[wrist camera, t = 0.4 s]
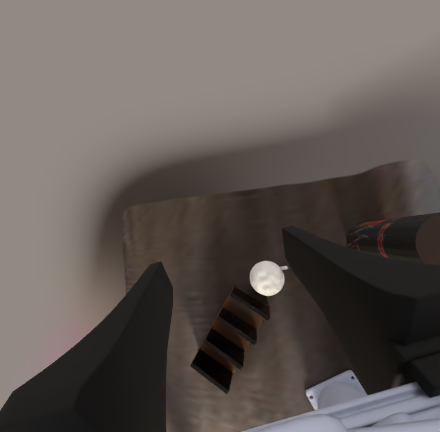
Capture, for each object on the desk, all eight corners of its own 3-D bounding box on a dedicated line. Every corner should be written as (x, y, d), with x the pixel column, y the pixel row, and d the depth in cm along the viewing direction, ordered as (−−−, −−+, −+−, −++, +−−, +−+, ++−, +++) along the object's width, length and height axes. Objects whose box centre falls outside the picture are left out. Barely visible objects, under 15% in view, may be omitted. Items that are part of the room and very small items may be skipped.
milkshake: (288, 269, 35) (299, 283, 25) (262, 287, 35) (263, 307, 25) (271, 247, 36) (276, 252, 26) (246, 265, 36) (241, 275, 26)
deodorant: (342, 252, 33) (407, 264, 19) (353, 217, 34) (425, 203, 19) (382, 265, 32) (485, 289, 17) (393, 229, 32) (504, 223, 18)
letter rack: (234, 284, 36) (230, 291, 31) (269, 306, 35) (271, 318, 30) (198, 347, 36) (189, 365, 31) (232, 373, 35) (228, 395, 30)
